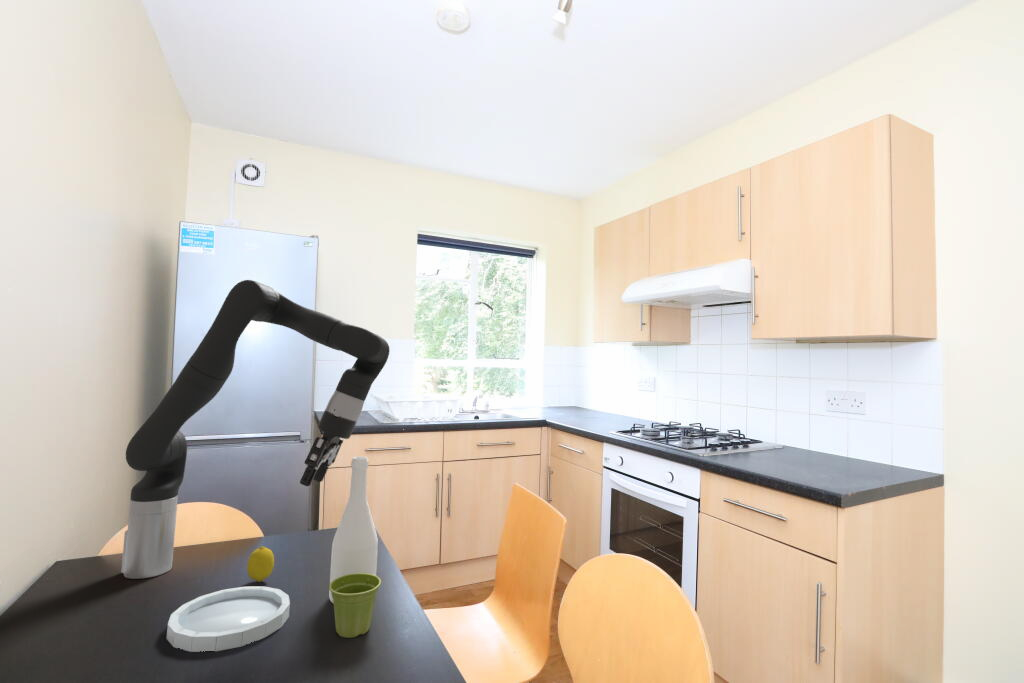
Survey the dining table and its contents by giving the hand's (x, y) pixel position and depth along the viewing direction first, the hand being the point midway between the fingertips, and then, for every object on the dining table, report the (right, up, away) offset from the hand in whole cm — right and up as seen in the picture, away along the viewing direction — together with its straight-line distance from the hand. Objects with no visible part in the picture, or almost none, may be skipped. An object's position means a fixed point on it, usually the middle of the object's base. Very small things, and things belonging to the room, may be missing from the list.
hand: (310, 482), depth 108 cm
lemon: (-13, -24, +3) cm, 27 cm away
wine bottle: (+10, -24, -3) cm, 26 cm away
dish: (-9, -22, -15) cm, 28 cm away
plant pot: (+15, -23, -16) cm, 32 cm away
